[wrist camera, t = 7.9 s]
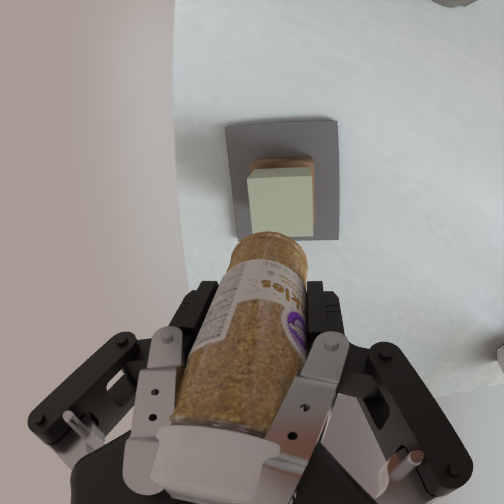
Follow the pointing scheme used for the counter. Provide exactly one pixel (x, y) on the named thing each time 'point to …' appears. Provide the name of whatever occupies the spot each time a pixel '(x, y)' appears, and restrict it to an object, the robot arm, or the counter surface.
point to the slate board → (288, 145)
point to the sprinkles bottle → (237, 375)
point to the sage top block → (281, 201)
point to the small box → (501, 357)
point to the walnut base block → (287, 163)
